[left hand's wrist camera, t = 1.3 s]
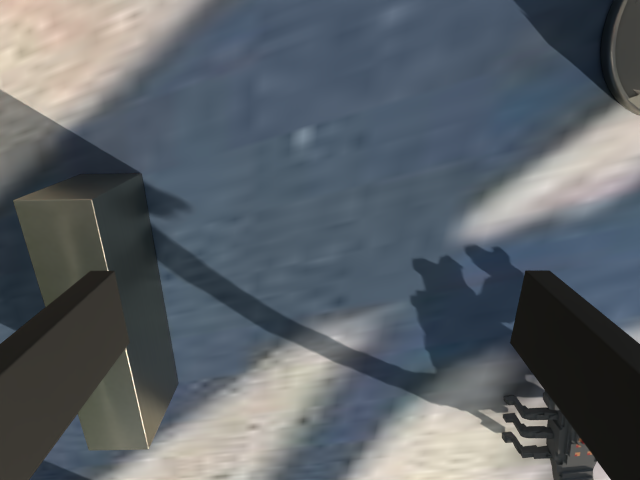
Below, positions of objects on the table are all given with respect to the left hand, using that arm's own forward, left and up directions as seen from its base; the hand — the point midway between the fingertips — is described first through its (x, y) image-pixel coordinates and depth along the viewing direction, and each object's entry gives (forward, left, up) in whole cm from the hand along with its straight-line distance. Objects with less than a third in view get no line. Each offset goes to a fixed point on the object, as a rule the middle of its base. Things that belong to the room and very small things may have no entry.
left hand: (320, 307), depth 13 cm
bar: (+23, +9, -28) cm, 37 cm away
